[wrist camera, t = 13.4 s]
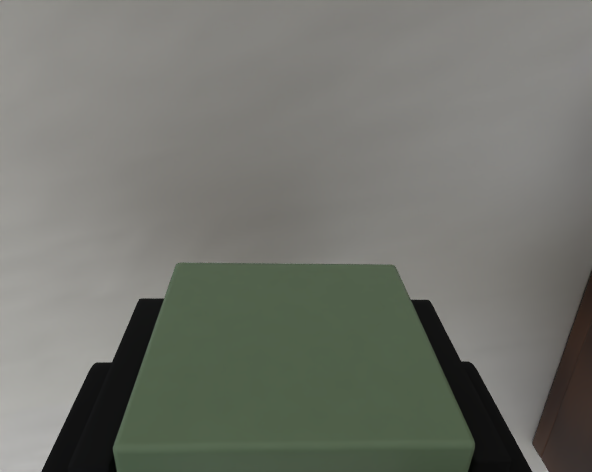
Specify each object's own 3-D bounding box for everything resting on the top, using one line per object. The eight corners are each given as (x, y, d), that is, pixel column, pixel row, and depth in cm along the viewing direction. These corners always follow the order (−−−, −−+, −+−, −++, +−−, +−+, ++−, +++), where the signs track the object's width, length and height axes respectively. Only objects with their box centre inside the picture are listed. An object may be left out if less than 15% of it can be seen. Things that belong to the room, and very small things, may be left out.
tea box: (175, 260, 10) (109, 449, 6) (395, 262, 10) (479, 444, 6) (189, 421, 12) (147, 643, 8) (372, 420, 12) (423, 634, 8)
